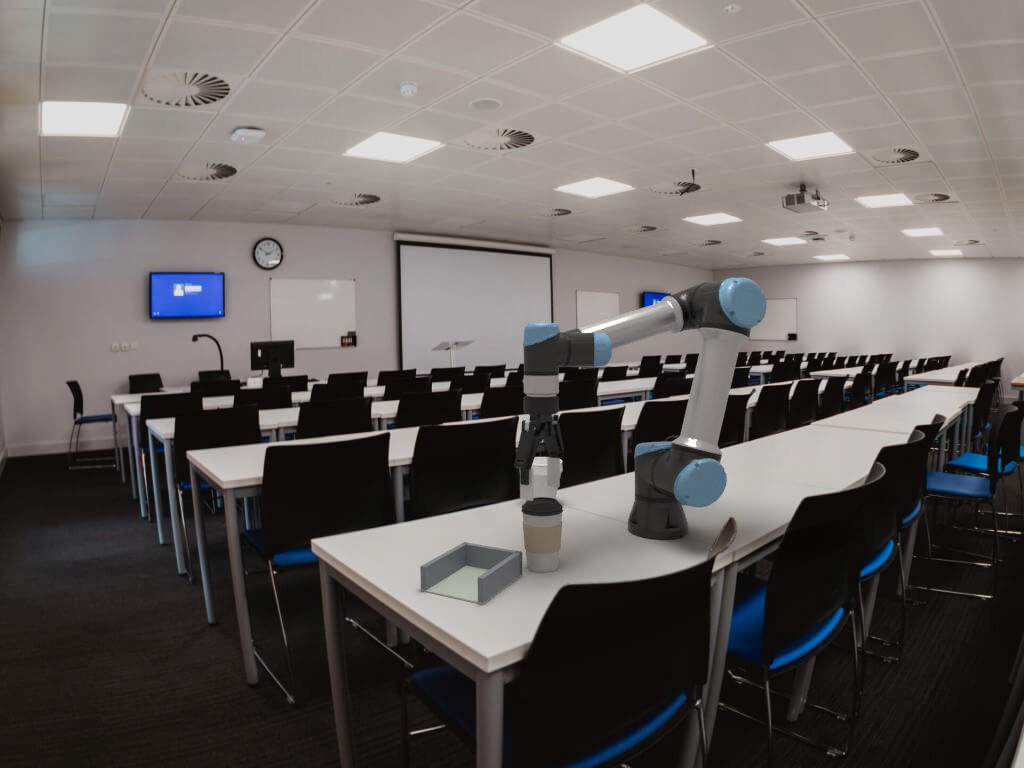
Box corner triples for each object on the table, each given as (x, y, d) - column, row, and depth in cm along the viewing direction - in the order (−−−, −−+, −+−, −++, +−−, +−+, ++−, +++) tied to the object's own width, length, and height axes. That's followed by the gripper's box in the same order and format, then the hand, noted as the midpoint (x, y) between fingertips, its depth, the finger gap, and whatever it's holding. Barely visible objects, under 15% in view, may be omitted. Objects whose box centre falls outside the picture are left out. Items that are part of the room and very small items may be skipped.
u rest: (522, 575, 128) (522, 551, 128) (483, 604, 114) (483, 578, 114) (464, 564, 135) (464, 542, 135) (420, 590, 121) (420, 566, 120)
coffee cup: (520, 560, 137) (519, 494, 136) (559, 558, 138) (559, 493, 137) (524, 575, 128) (523, 505, 127) (566, 573, 129) (566, 503, 128)
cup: (546, 498, 191) (546, 455, 190) (571, 506, 181) (571, 461, 180) (514, 504, 184) (513, 459, 183) (537, 513, 174) (537, 466, 173)
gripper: (549, 390, 143) (548, 479, 145) (497, 398, 121) (497, 503, 123) (578, 391, 140) (578, 482, 141) (531, 400, 118) (531, 508, 119)
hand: (540, 492), depth 132 cm, fingers open, 13 cm apart
